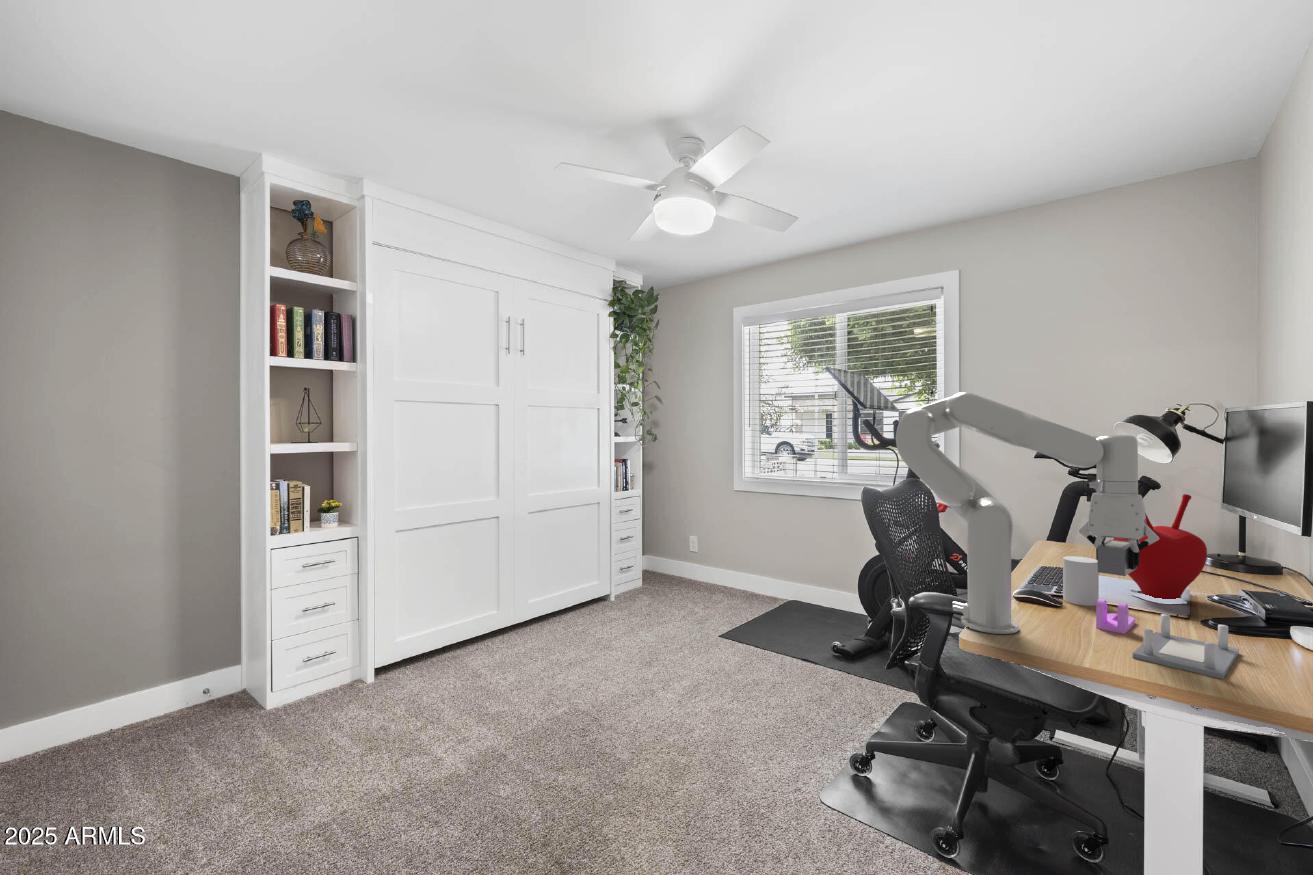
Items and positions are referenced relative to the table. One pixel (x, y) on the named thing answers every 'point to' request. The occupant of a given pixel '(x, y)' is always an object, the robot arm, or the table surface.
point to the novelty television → (1169, 559)
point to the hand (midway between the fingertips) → (1117, 565)
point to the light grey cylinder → (1080, 580)
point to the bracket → (1113, 618)
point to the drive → (1114, 557)
